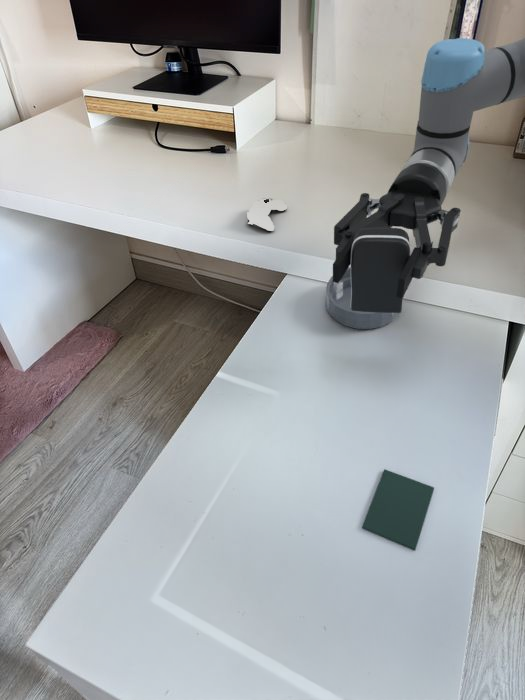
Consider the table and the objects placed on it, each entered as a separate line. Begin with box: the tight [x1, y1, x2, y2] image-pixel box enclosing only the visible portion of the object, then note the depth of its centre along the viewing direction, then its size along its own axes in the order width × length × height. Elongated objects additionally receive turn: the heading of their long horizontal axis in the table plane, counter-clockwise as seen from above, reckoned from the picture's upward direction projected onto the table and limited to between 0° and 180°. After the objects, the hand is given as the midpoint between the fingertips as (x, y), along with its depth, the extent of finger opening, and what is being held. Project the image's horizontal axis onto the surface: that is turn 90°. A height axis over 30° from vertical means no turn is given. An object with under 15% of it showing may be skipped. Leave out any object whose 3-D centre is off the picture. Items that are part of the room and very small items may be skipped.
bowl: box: [325, 266, 400, 330], centre depth 81 cm, size 12×12×4 cm
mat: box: [361, 468, 435, 551], centre depth 58 cm, size 6×8×1 cm
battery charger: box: [350, 227, 411, 314], centre depth 64 cm, size 7×4×11 cm, turn 79°
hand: (367, 280), depth 59 cm, fingers closed on battery charger, 7 cm apart
